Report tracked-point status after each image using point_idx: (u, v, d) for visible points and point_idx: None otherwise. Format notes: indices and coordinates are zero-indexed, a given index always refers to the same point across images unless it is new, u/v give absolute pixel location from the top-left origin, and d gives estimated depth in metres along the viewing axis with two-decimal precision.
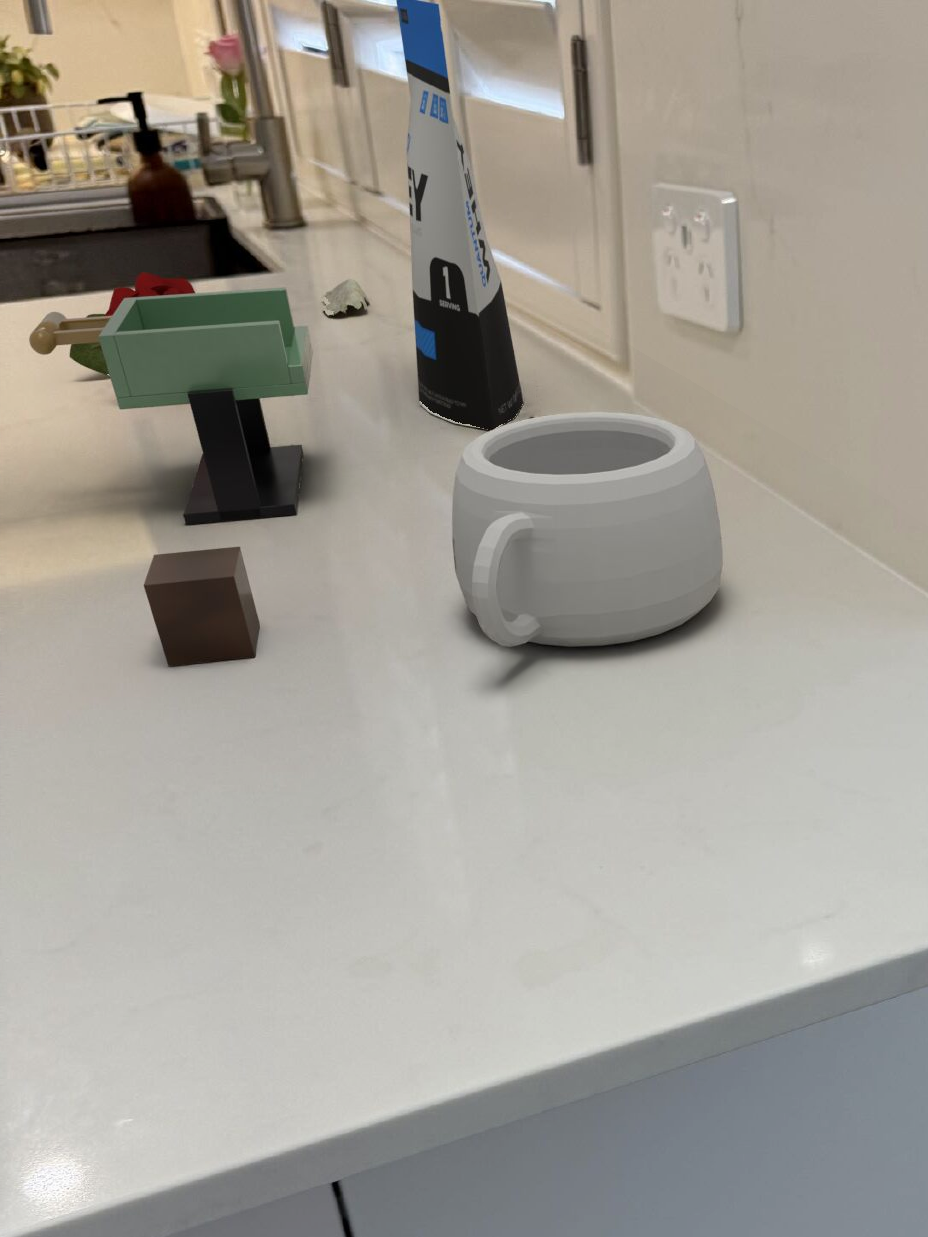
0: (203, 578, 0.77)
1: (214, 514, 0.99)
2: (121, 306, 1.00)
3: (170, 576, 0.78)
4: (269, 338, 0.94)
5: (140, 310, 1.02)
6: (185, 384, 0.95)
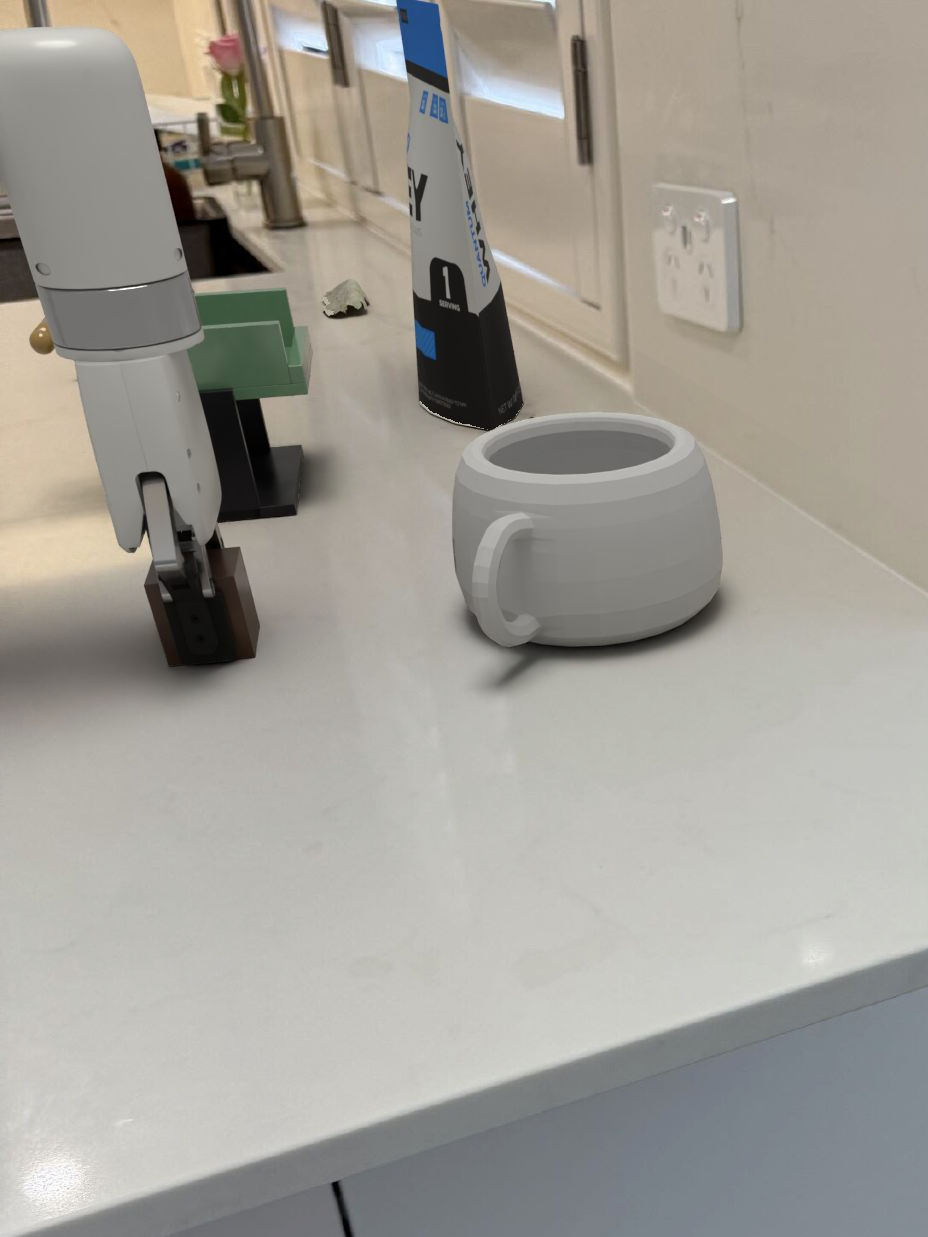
0: None
1: None
2: None
3: None
4: (269, 338, 0.94)
5: None
6: None
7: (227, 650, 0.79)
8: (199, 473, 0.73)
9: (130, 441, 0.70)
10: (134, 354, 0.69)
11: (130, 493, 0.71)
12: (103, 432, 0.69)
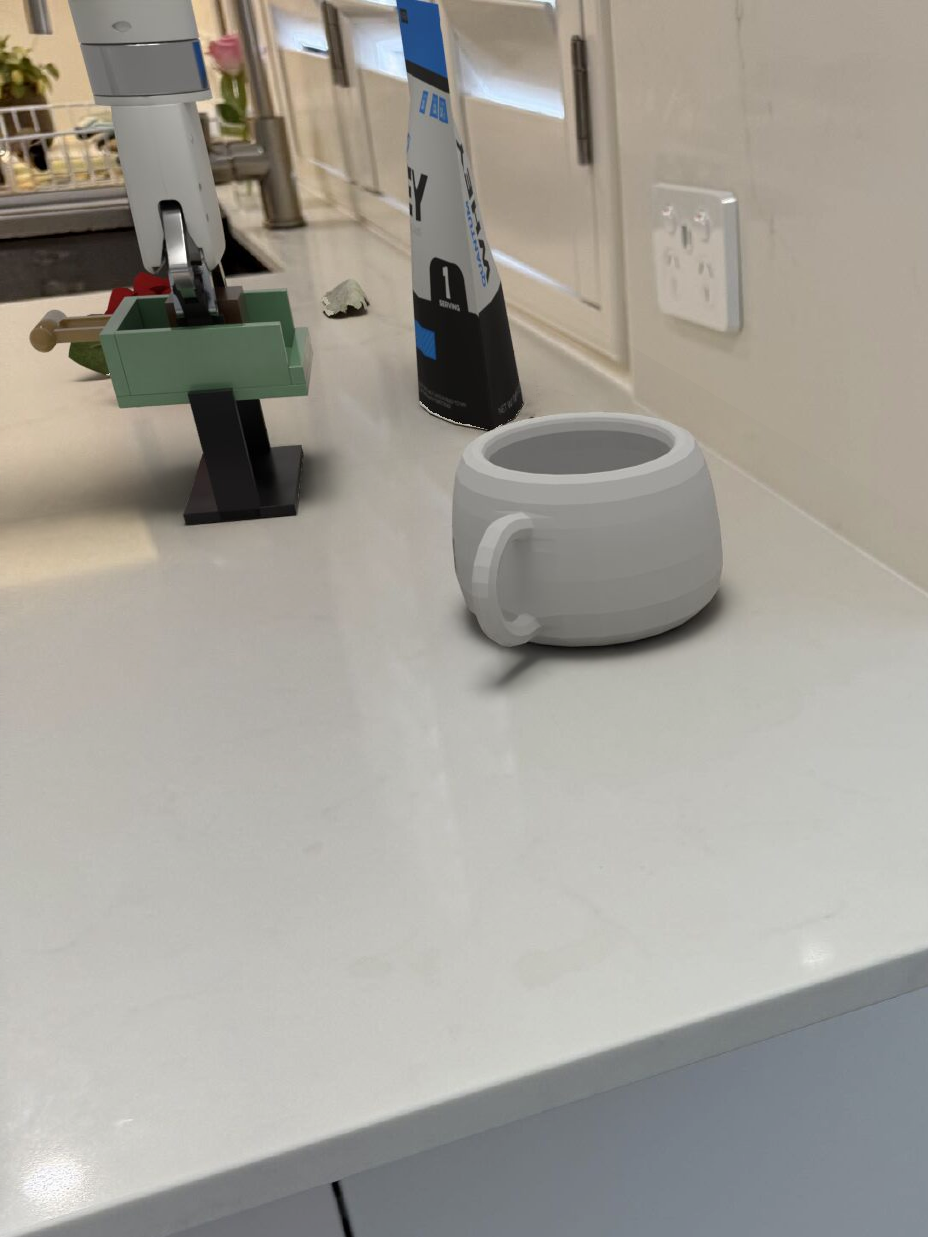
0: None
1: (214, 514, 0.99)
2: (122, 305, 1.00)
3: None
4: (270, 339, 0.94)
5: (140, 309, 1.02)
6: (185, 384, 0.95)
7: None
8: (208, 207, 0.92)
9: (154, 172, 0.89)
10: (157, 100, 0.87)
11: (153, 218, 0.90)
12: (132, 164, 0.88)
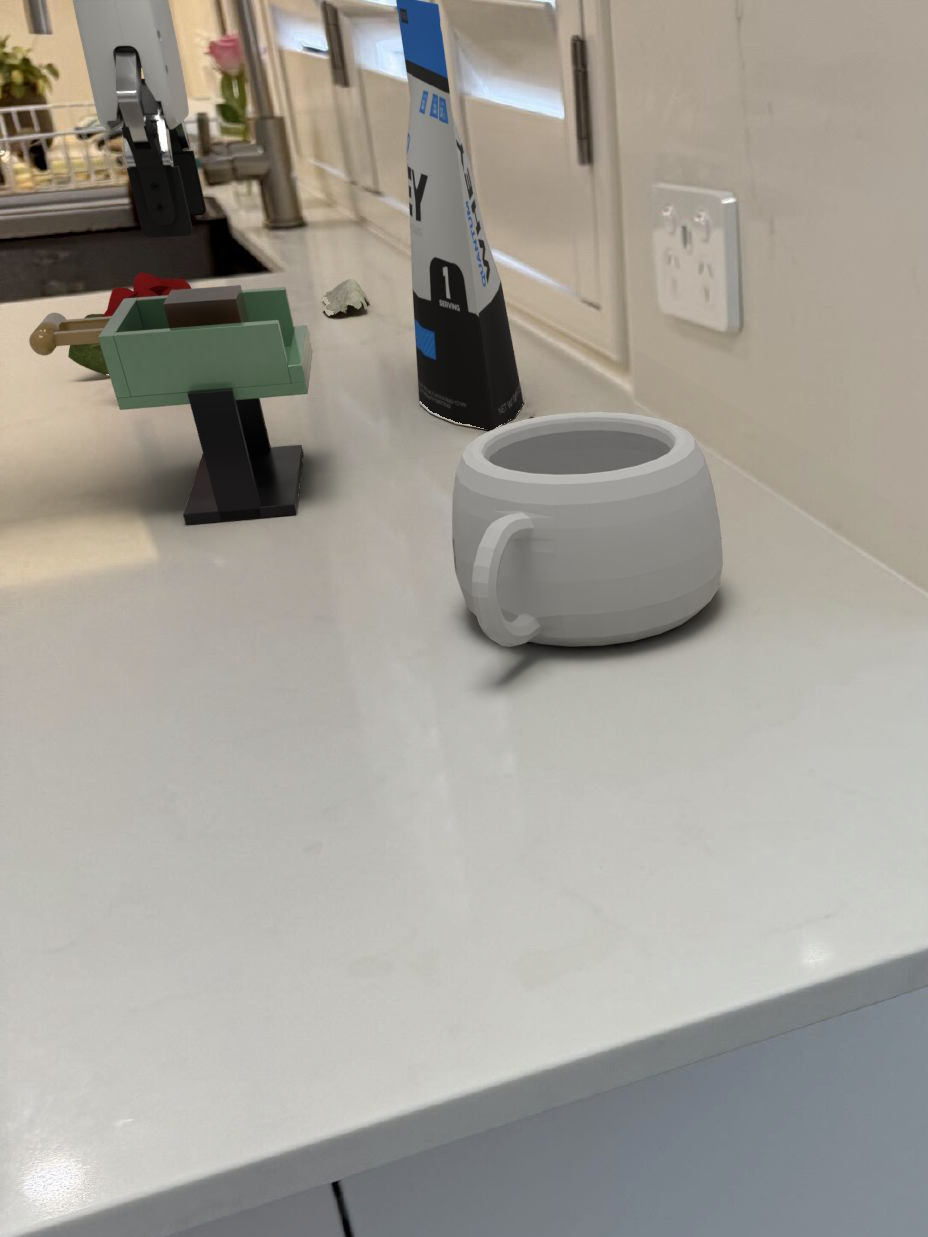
0: (211, 300, 0.96)
1: (214, 514, 0.99)
2: (121, 306, 1.00)
3: (184, 299, 0.96)
4: (269, 338, 0.94)
5: (140, 311, 1.02)
6: (185, 385, 0.95)
7: (183, 224, 0.90)
8: (168, 59, 0.86)
9: (109, 15, 0.83)
10: None
11: (108, 65, 0.85)
12: (86, 5, 0.83)
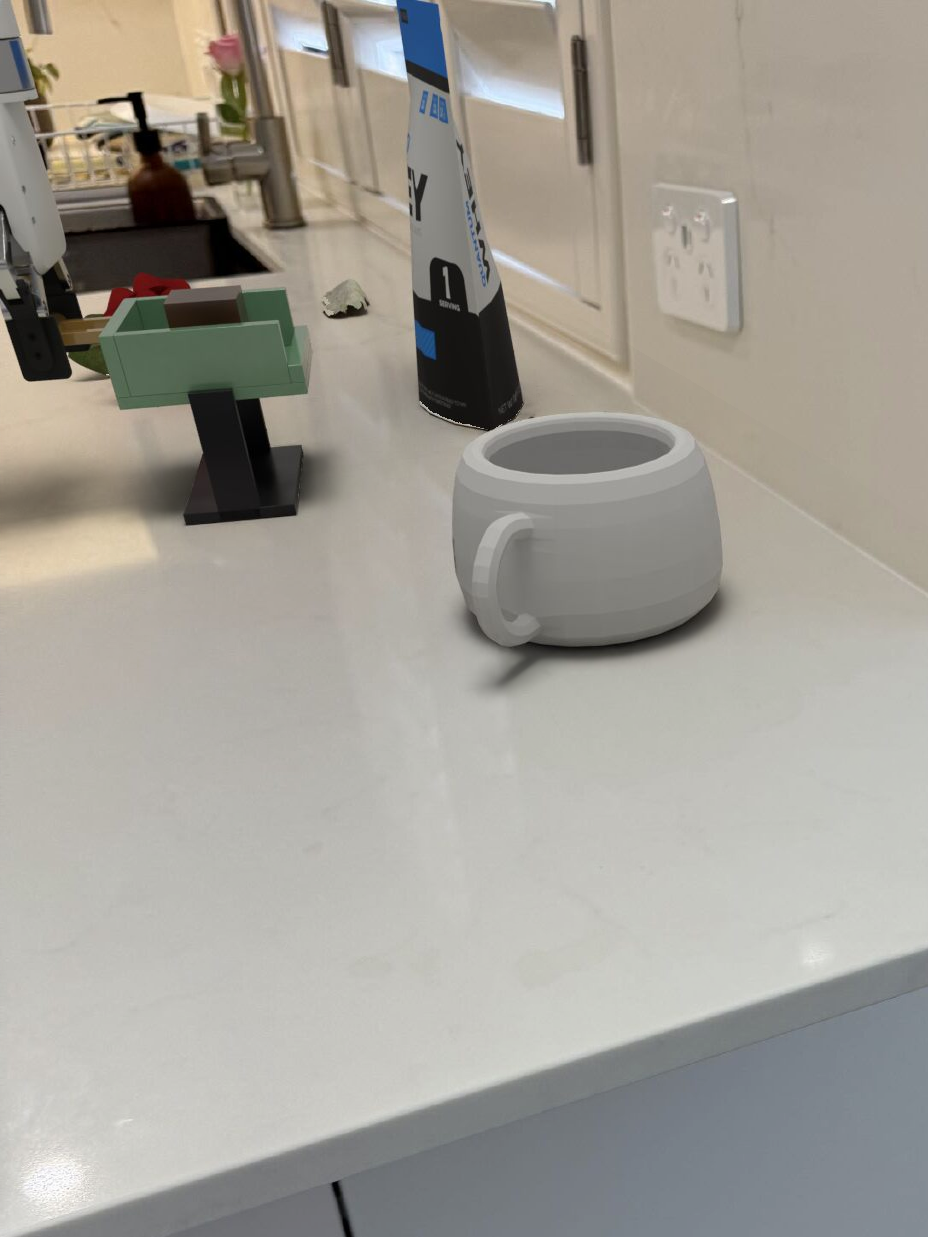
0: (211, 300, 0.96)
1: (214, 514, 0.99)
2: (121, 307, 1.00)
3: (184, 299, 0.96)
4: (269, 338, 0.94)
5: (140, 311, 1.02)
6: (185, 385, 0.95)
7: (62, 368, 0.94)
8: (35, 210, 0.90)
9: None
10: None
11: None
12: None
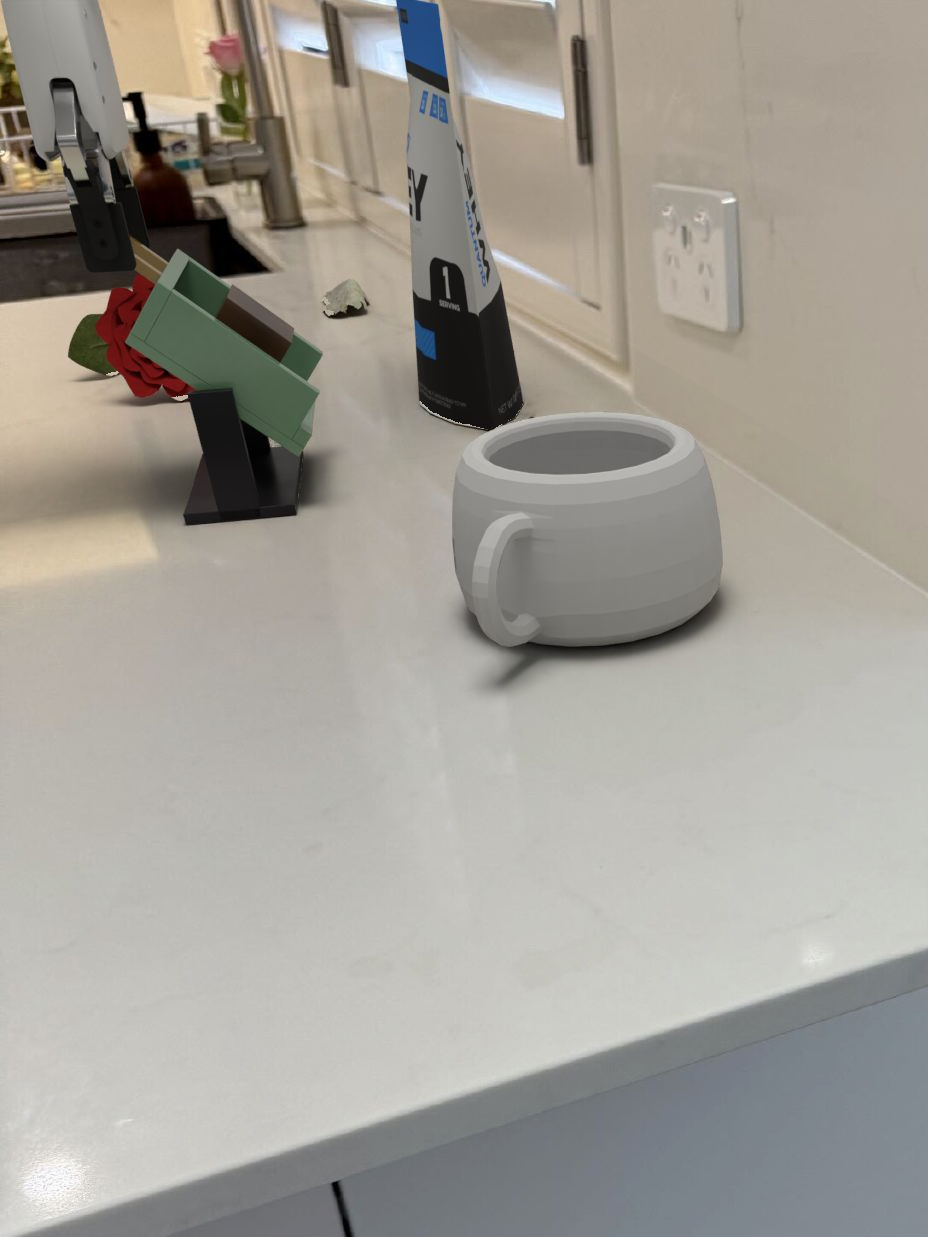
0: (270, 327, 0.98)
1: (214, 514, 0.99)
2: (176, 258, 0.99)
3: (246, 307, 0.97)
4: (302, 397, 0.97)
5: (185, 269, 1.01)
6: (200, 371, 0.95)
7: (127, 259, 0.91)
8: (105, 90, 0.87)
9: (44, 47, 0.84)
10: None
11: (44, 97, 0.85)
12: (21, 38, 0.83)
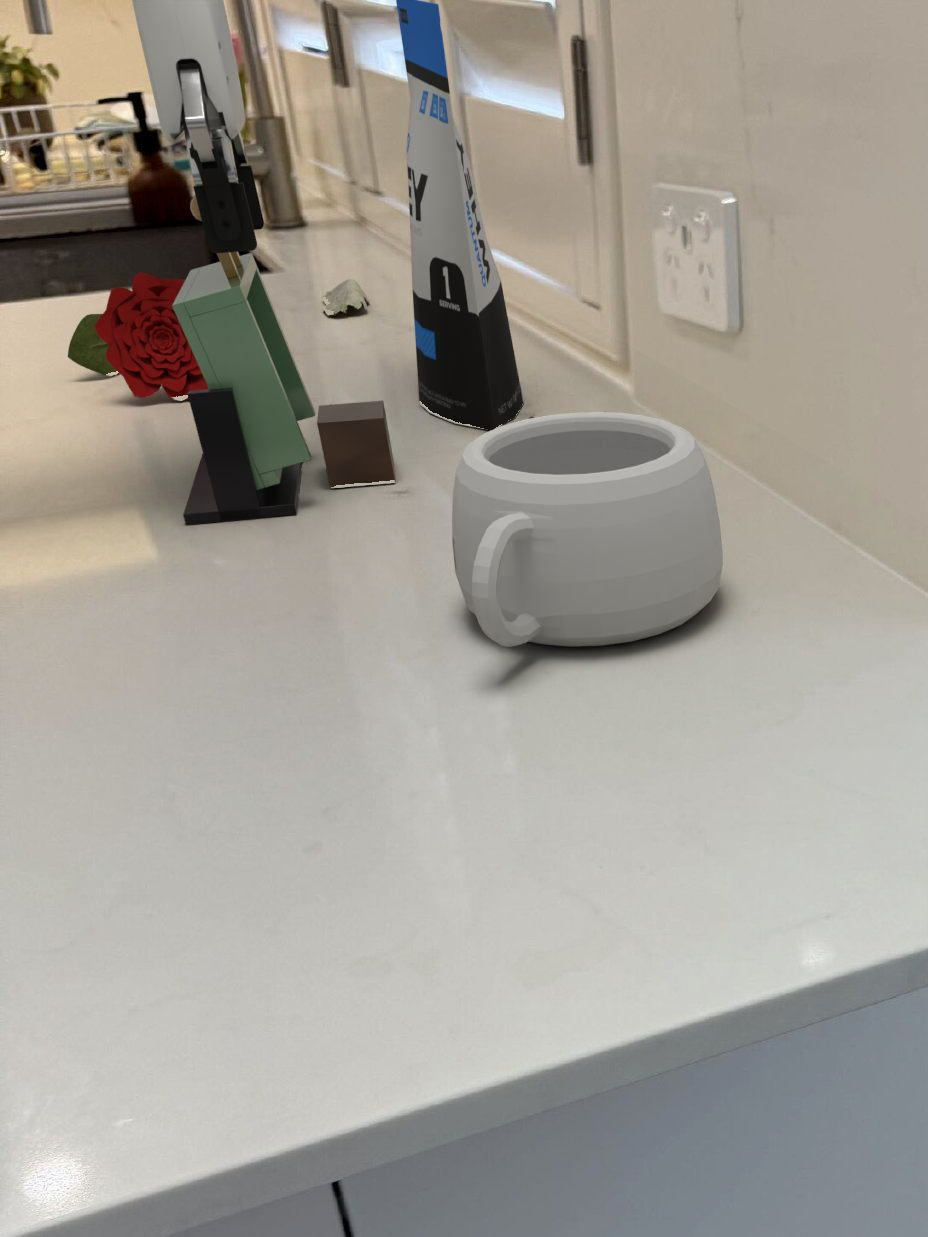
0: None
1: (214, 514, 0.99)
2: (250, 264, 1.00)
3: None
4: (294, 452, 0.99)
5: None
6: (221, 372, 0.95)
7: (248, 239, 0.92)
8: (228, 70, 0.87)
9: (171, 29, 0.84)
10: None
11: (171, 79, 0.86)
12: (149, 20, 0.84)
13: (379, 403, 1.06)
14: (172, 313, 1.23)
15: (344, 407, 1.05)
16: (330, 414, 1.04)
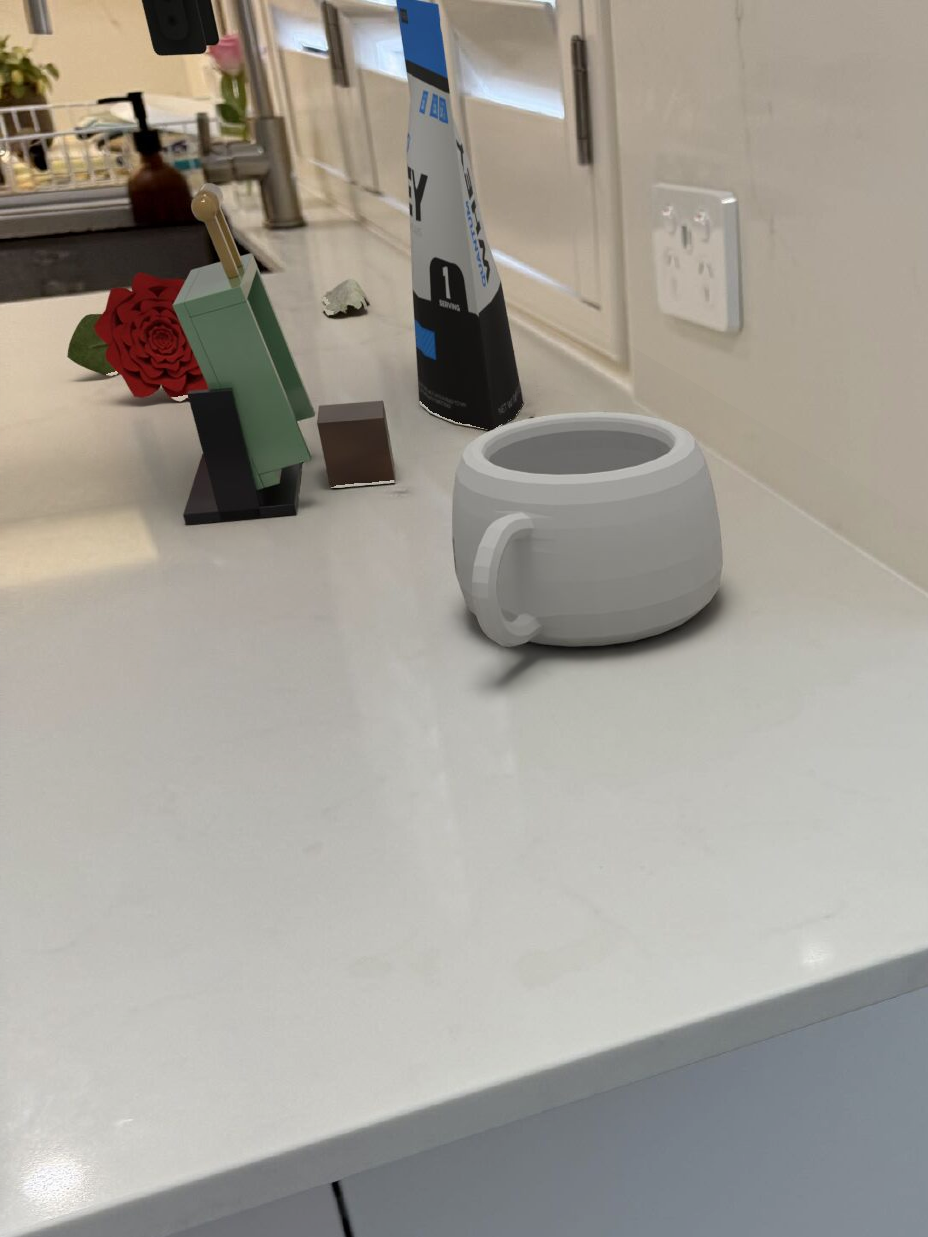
0: None
1: (214, 514, 0.99)
2: (251, 264, 1.00)
3: None
4: (294, 452, 0.99)
5: None
6: (221, 372, 0.95)
7: (197, 41, 0.85)
8: None
9: None
10: None
11: None
12: None
13: (379, 403, 1.06)
14: (172, 313, 1.23)
15: (344, 407, 1.05)
16: (330, 414, 1.04)
